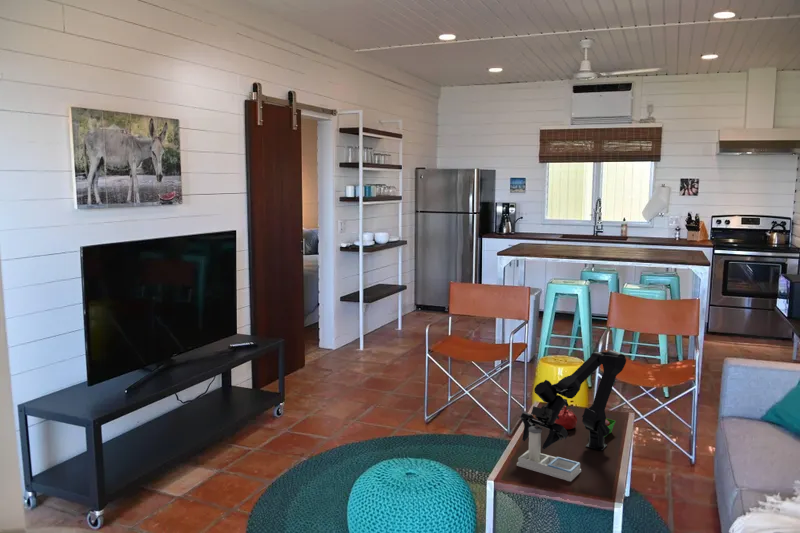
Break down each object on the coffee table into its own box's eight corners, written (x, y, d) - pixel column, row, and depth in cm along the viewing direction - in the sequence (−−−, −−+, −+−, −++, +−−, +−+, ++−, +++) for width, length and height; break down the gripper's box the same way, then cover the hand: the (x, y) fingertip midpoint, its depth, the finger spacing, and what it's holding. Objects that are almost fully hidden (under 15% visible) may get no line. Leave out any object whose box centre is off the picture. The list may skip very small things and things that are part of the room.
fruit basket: (604, 440, 260) (605, 414, 258) (584, 435, 266) (585, 409, 264) (615, 432, 268) (616, 406, 267) (595, 427, 274) (596, 402, 273)
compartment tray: (528, 456, 244) (528, 448, 244) (581, 471, 232) (581, 462, 231) (516, 465, 237) (517, 456, 236) (570, 481, 224) (571, 472, 224)
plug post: (531, 457, 241) (532, 425, 239) (542, 461, 238) (543, 428, 236) (525, 462, 237) (526, 429, 235) (537, 465, 234) (538, 432, 232)
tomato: (560, 433, 268) (560, 412, 267) (549, 424, 278) (549, 403, 276) (581, 430, 270) (582, 409, 269) (570, 421, 280) (570, 401, 279)
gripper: (523, 391, 244) (504, 426, 239) (564, 404, 230) (544, 441, 225) (536, 407, 250) (517, 440, 245) (576, 420, 236) (557, 456, 231)
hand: (533, 444), depth 236 cm, fingers open, 9 cm apart
